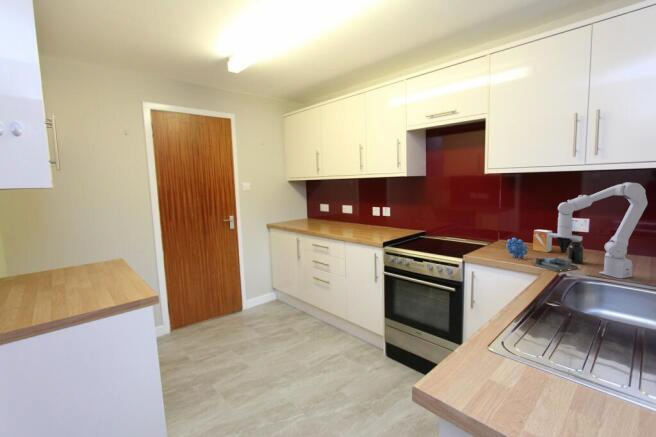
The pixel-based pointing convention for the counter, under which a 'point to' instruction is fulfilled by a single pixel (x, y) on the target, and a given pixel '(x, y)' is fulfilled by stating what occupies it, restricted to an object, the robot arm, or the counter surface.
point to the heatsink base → (560, 264)
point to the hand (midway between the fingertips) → (563, 252)
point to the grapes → (516, 247)
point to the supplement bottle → (576, 252)
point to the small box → (542, 240)
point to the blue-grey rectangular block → (549, 260)
